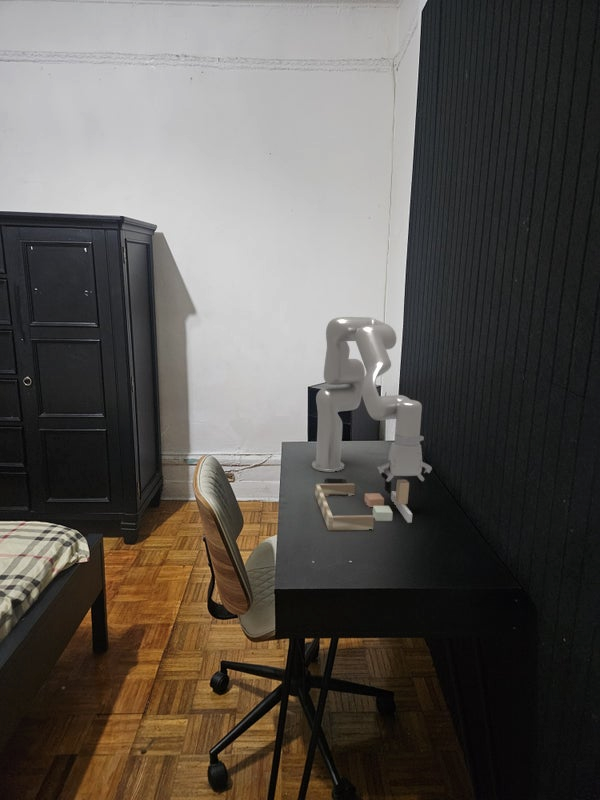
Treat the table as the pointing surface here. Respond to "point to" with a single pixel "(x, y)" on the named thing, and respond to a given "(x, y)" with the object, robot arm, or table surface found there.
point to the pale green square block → (382, 513)
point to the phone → (336, 481)
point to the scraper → (402, 499)
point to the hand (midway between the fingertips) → (403, 492)
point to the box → (341, 521)
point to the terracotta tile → (374, 499)
